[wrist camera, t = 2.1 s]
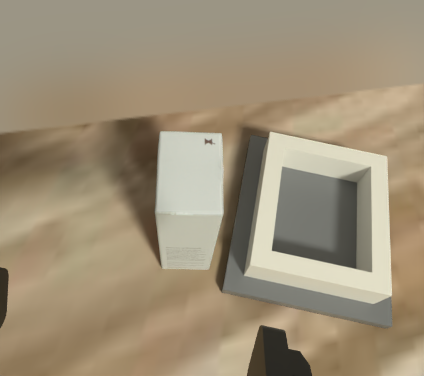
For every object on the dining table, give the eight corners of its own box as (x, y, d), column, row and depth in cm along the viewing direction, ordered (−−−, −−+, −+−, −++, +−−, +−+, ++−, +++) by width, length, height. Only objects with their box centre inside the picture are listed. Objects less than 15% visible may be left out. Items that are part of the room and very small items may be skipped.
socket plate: (221, 292, 32) (227, 279, 28) (249, 140, 40) (256, 115, 36) (386, 328, 32) (412, 320, 28) (381, 168, 39) (402, 146, 36)
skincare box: (163, 206, 35) (158, 127, 25) (209, 208, 36) (224, 130, 25) (159, 271, 32) (152, 212, 22) (209, 272, 33) (226, 214, 22)
